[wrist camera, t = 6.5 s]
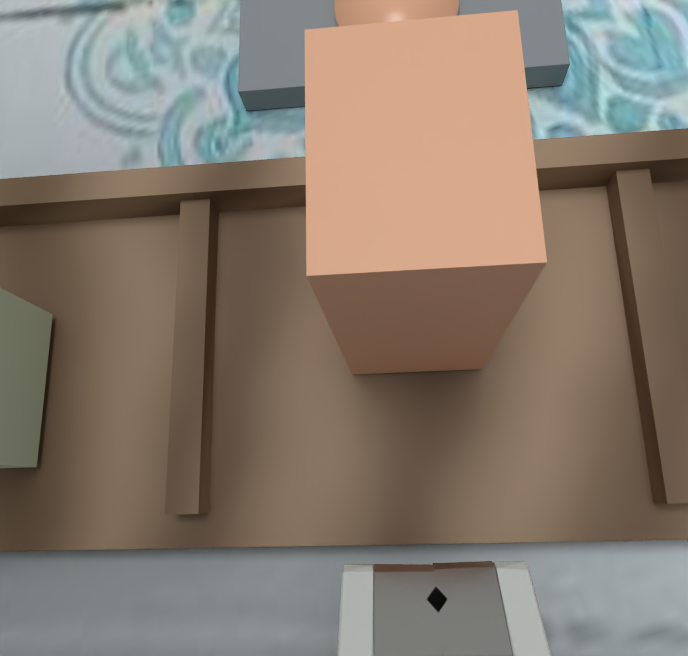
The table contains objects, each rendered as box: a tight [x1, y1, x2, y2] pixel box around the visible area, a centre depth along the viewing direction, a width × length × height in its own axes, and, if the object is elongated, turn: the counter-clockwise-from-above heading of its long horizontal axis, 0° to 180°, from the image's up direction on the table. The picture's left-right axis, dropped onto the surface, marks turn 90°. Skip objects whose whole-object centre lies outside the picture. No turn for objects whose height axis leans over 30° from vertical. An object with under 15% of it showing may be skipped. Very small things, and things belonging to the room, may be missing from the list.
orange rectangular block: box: [305, 10, 547, 375], centre depth 15 cm, size 4×5×9 cm
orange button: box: [238, 0, 570, 111], centre depth 24 cm, size 12×6×2 cm, turn 91°
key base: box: [0, 128, 688, 551], centre depth 20 cm, size 34×12×3 cm, turn 91°
